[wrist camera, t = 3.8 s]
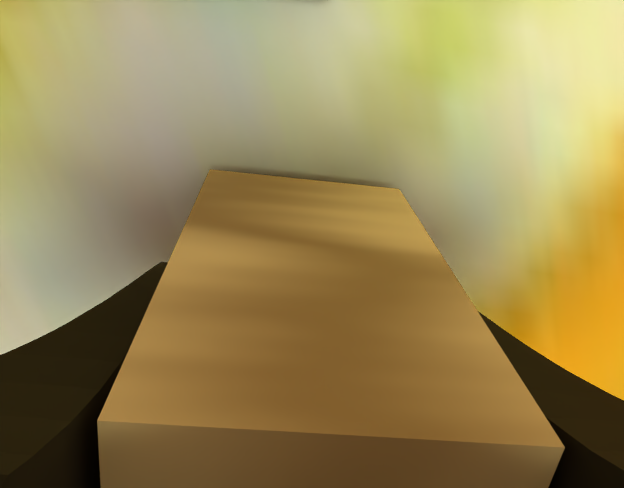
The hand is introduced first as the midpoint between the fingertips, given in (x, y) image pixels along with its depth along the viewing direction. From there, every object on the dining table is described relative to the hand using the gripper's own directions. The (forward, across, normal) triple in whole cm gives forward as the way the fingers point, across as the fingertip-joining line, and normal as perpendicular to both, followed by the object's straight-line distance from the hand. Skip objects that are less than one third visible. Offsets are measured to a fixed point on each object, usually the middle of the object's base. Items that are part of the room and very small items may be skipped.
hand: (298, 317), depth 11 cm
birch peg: (+2, 0, 0) cm, 2 cm away
